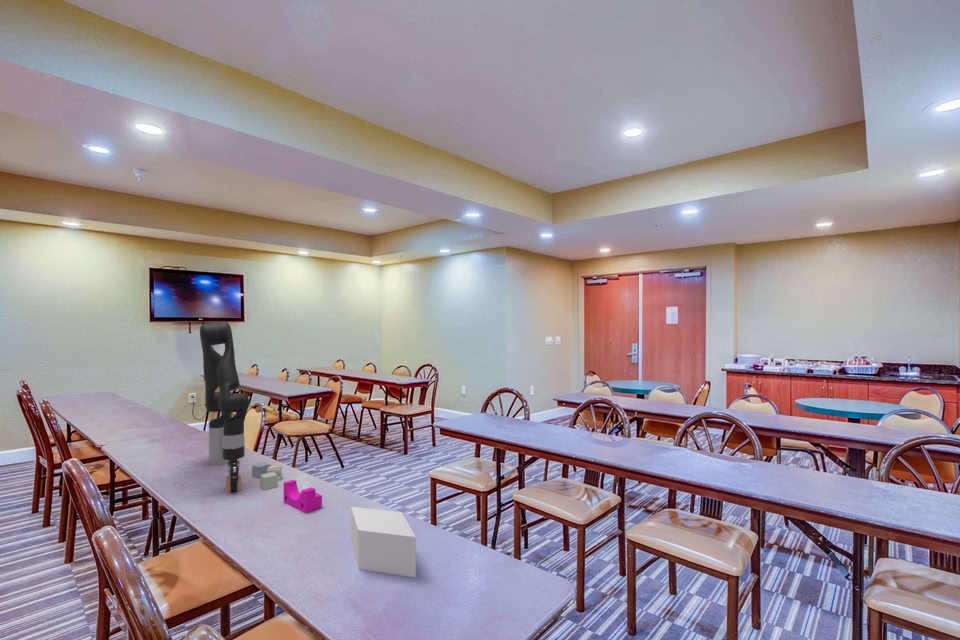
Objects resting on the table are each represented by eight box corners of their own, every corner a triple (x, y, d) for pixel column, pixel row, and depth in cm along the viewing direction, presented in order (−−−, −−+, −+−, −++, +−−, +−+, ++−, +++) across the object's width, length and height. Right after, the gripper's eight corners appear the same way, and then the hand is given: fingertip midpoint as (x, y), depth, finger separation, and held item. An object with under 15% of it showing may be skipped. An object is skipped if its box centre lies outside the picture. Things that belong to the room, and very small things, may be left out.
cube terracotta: (225, 489, 171) (225, 476, 171) (240, 487, 174) (240, 474, 174) (226, 493, 167) (226, 480, 167) (241, 490, 170) (241, 478, 170)
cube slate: (252, 477, 186) (252, 465, 186) (263, 473, 190) (263, 462, 190) (258, 479, 183) (258, 467, 183) (270, 475, 187) (270, 464, 187)
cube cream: (268, 478, 183) (268, 466, 183) (281, 477, 185) (281, 465, 185) (266, 482, 179) (266, 470, 179) (279, 481, 180) (280, 469, 180)
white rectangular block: (371, 532, 135) (371, 499, 136) (436, 565, 117) (436, 527, 117) (328, 551, 124) (328, 514, 125) (393, 590, 106) (393, 548, 106)
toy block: (322, 508, 154) (322, 486, 154) (305, 514, 149) (305, 492, 149) (299, 497, 163) (299, 477, 163) (283, 503, 158) (283, 482, 158)
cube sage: (260, 487, 174) (260, 474, 174) (273, 484, 177) (273, 471, 177) (264, 490, 170) (264, 478, 170) (277, 487, 173) (277, 475, 173)
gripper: (221, 442, 175) (221, 485, 174) (223, 451, 162) (223, 497, 162) (243, 440, 179) (242, 481, 178) (246, 448, 167) (245, 493, 166)
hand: (233, 489), depth 170 cm, fingers closed on cube terracotta, 5 cm apart
